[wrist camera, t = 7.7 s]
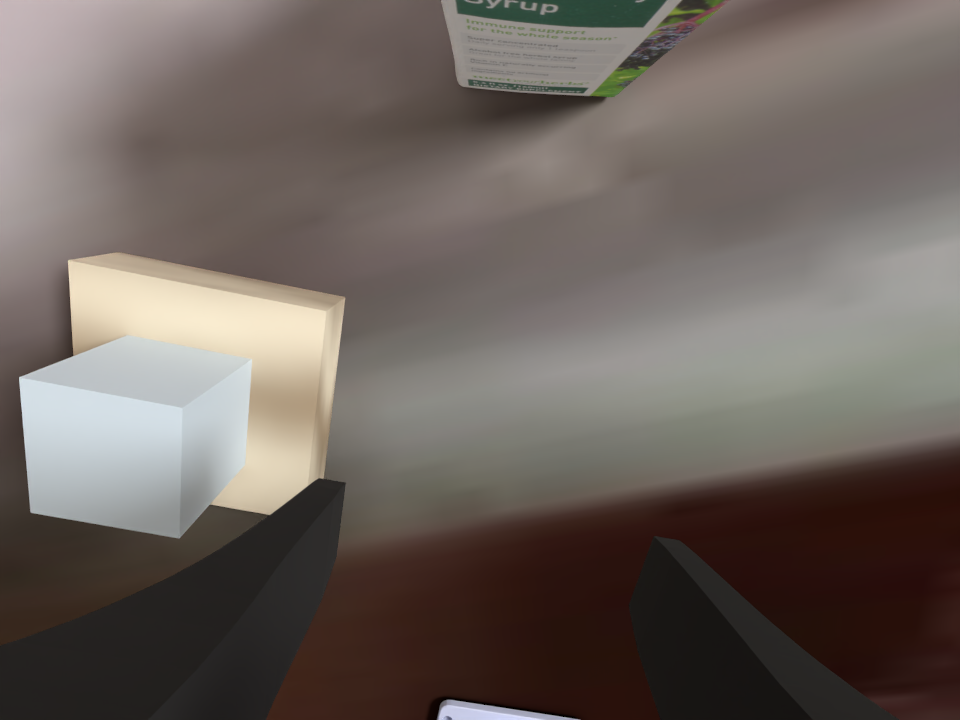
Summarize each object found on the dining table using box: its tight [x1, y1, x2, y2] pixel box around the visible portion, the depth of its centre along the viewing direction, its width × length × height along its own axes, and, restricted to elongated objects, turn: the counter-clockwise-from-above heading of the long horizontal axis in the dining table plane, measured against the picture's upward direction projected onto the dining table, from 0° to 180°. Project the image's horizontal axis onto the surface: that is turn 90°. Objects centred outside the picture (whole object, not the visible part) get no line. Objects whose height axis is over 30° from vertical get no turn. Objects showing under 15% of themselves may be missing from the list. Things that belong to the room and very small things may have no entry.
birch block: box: [68, 252, 345, 515], centre depth 20 cm, size 9×9×3 cm
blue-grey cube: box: [19, 335, 252, 538], centre depth 17 cm, size 4×4×4 cm
